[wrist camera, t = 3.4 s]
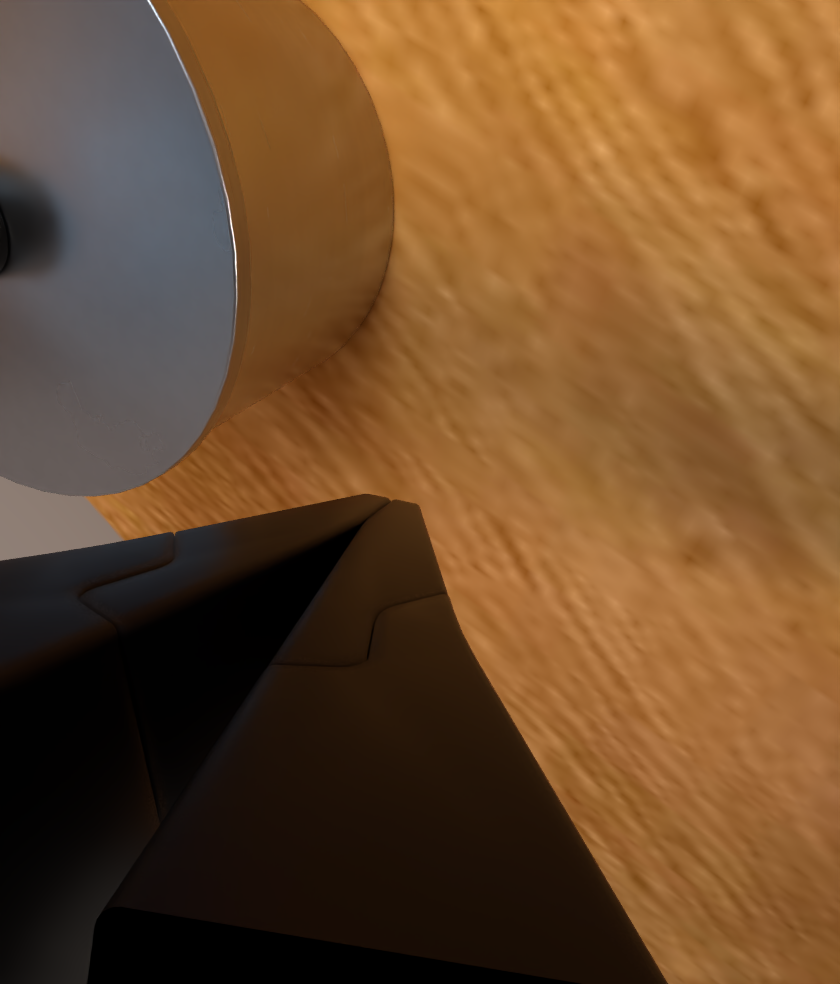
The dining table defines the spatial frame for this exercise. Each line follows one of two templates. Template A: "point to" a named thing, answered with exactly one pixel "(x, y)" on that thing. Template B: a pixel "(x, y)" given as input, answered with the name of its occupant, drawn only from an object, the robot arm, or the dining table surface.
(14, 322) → the steel pot
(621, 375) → the dining table surface
